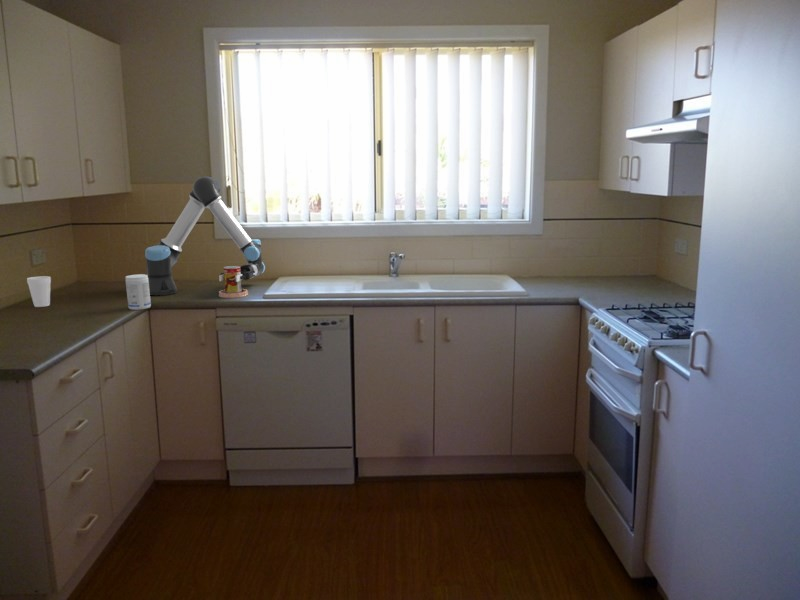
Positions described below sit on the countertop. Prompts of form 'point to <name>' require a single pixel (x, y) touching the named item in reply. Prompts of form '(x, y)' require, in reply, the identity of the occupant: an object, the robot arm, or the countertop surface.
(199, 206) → the robot arm
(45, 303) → the foam cup
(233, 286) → the canned food
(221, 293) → the terracotta dish
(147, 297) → the supplement tub
